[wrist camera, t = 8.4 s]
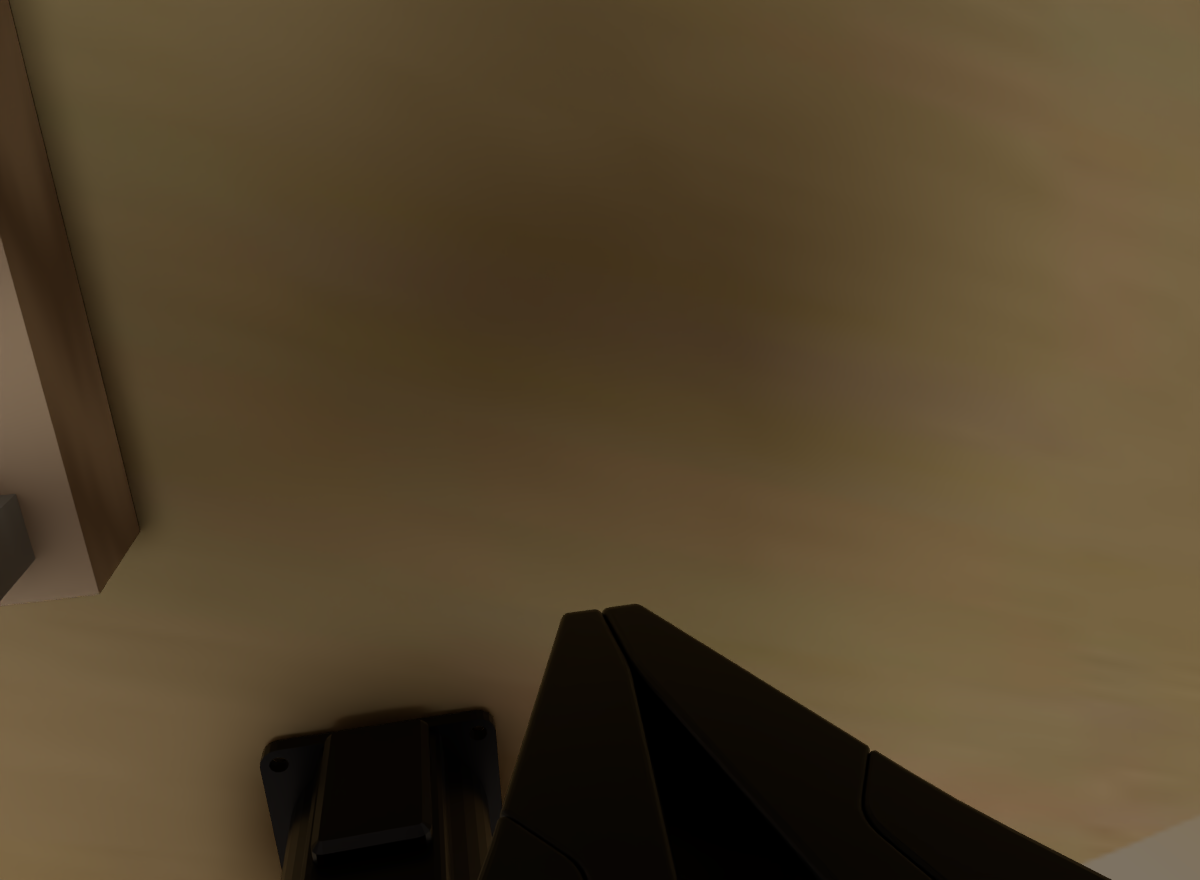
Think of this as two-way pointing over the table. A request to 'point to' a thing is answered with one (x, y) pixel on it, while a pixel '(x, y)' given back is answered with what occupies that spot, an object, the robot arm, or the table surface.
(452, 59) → the table surface
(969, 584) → the table surface
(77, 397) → the channel board
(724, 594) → the table surface
